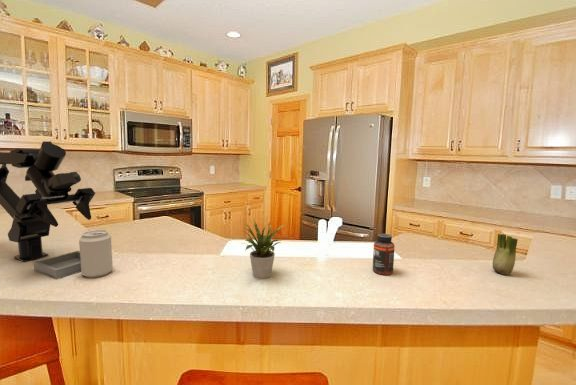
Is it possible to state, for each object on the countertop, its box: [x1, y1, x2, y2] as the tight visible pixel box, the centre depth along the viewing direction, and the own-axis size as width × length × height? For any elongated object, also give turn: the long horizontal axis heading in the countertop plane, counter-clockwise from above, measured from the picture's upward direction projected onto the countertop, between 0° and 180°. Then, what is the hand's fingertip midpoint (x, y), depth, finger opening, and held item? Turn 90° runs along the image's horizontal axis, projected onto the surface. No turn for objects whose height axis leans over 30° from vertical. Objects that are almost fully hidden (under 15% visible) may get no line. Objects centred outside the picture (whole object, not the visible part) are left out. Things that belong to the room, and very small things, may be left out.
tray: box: [33, 250, 81, 280], centre depth 89 cm, size 12×12×2 cm
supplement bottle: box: [372, 233, 395, 276], centre depth 90 cm, size 6×6×11 cm
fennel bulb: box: [492, 233, 518, 276], centre depth 92 cm, size 6×5×12 cm
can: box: [78, 229, 114, 279], centre depth 85 cm, size 8×8×12 cm
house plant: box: [239, 219, 285, 279], centre depth 86 cm, size 14×14×16 cm
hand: (74, 222), depth 86 cm, fingers open, 9 cm apart
